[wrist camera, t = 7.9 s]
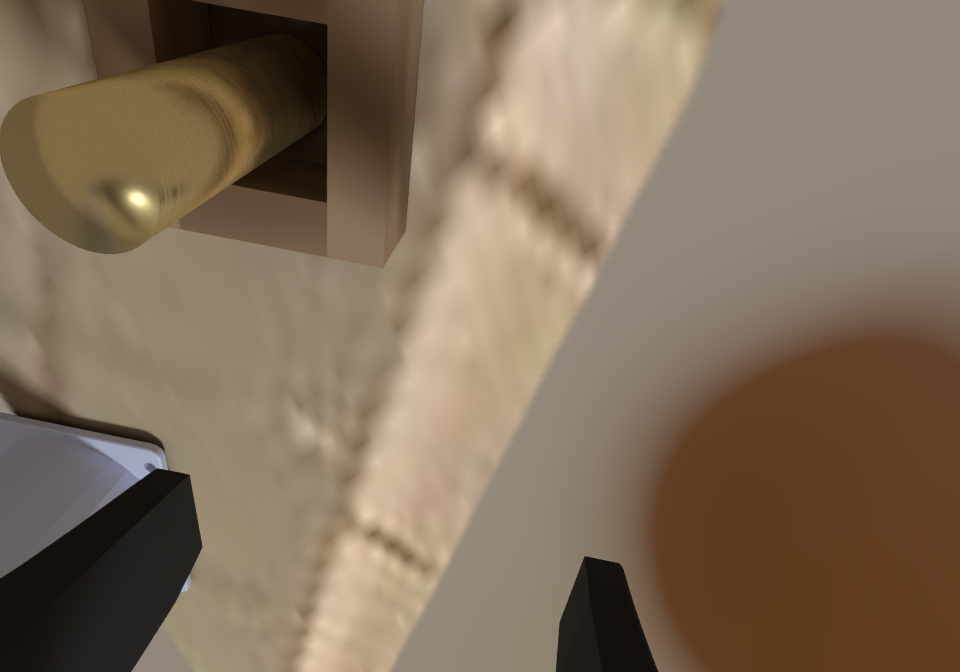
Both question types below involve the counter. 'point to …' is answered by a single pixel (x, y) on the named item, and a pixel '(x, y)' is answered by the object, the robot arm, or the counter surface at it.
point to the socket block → (350, 122)
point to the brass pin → (158, 138)
